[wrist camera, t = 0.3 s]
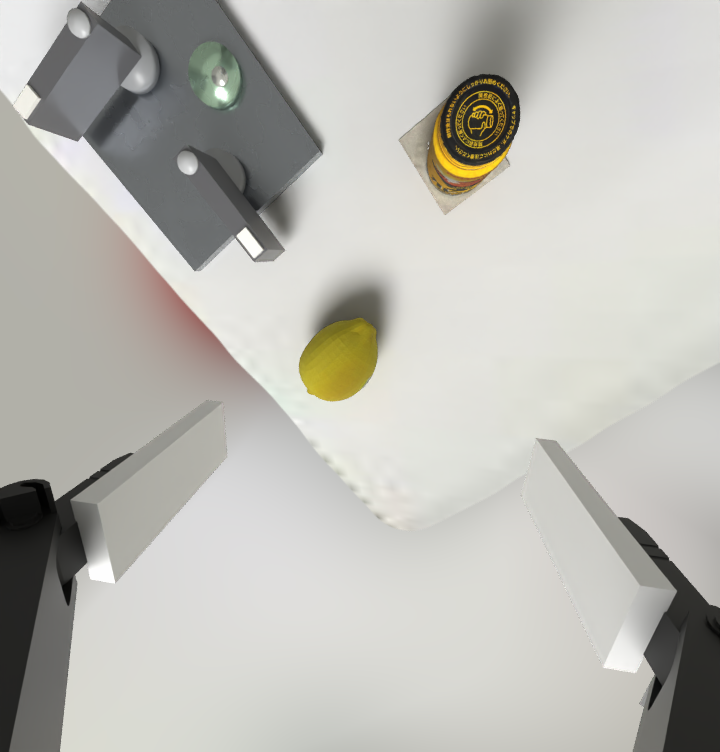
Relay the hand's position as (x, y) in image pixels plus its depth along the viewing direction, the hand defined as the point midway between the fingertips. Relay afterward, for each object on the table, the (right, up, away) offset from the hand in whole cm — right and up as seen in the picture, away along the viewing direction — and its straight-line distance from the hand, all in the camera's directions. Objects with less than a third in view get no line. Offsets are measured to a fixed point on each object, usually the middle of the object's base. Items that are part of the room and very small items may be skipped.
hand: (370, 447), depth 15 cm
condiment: (+9, +25, +20) cm, 33 cm away
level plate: (-18, +29, +22) cm, 41 cm away
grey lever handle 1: (-25, +31, +20) cm, 45 cm away
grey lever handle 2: (-12, +21, +22) cm, 33 cm away
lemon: (-2, +6, +28) cm, 28 cm away
